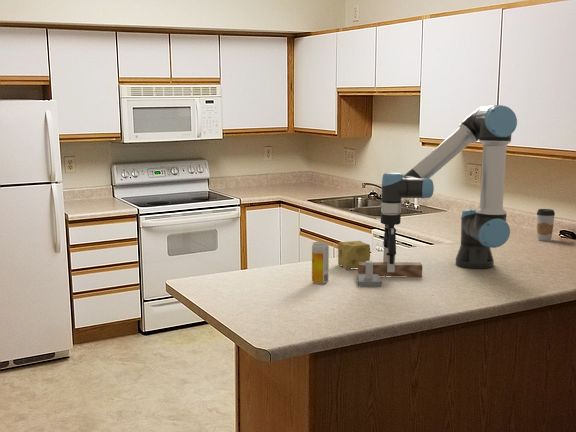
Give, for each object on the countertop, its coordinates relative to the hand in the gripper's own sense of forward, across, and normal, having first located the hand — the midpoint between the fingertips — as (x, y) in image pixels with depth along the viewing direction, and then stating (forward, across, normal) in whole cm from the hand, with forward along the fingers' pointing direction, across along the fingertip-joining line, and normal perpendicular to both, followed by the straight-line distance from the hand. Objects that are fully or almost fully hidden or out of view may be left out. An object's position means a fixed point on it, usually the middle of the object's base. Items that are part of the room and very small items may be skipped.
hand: (388, 268), depth 264 cm
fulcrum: (+3, +12, -8) cm, 15 cm away
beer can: (+4, +12, -26) cm, 29 cm away
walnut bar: (+3, 0, 0) cm, 3 cm away
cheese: (+3, -15, -12) cm, 20 cm away
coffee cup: (+1, -74, +84) cm, 112 cm away
